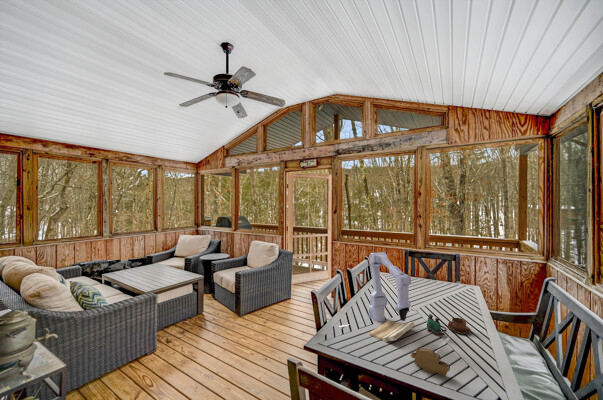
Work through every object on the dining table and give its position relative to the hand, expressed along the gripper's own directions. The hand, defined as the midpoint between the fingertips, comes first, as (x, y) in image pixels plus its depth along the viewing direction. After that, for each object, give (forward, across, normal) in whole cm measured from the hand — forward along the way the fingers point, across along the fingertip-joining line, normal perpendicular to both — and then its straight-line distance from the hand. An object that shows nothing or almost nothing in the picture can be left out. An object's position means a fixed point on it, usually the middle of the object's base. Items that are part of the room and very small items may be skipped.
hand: (402, 320), depth 147 cm
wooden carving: (+11, -18, -21) cm, 30 cm away
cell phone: (+11, -15, +25) cm, 31 cm away
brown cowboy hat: (+11, +34, -19) cm, 41 cm away
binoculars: (+11, +20, -11) cm, 25 cm away
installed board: (+10, 0, +10) cm, 15 cm away
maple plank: (+8, 0, +2) cm, 8 cm away
